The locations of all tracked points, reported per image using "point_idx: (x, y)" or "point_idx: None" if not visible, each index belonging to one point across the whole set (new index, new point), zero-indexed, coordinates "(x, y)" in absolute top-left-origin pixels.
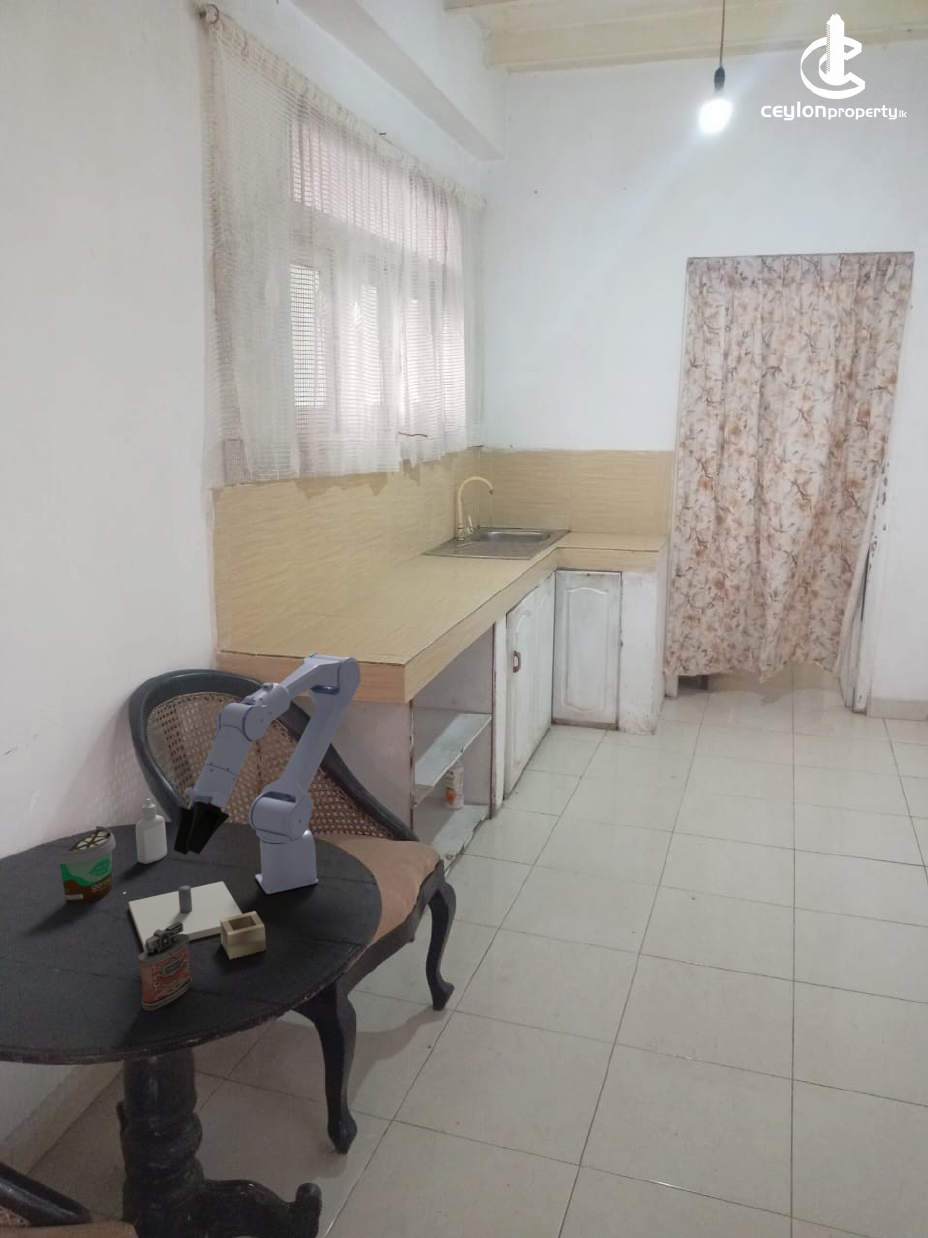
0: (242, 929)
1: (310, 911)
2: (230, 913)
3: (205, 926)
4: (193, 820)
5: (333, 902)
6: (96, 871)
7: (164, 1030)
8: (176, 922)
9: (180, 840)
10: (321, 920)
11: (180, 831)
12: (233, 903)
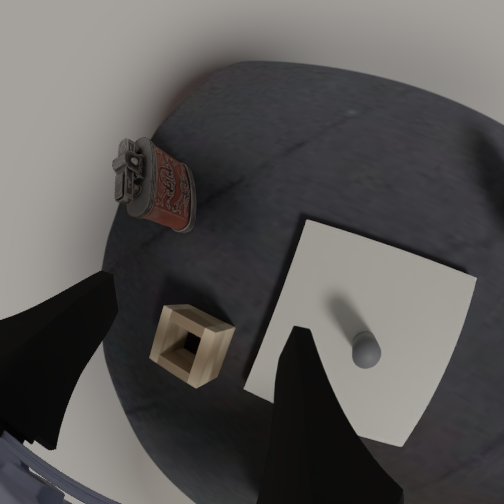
0: (162, 331)
1: (215, 458)
2: None
3: (278, 332)
4: (27, 331)
5: (213, 483)
6: None
7: None
8: (120, 191)
9: (291, 368)
10: (186, 444)
11: (298, 395)
12: None
